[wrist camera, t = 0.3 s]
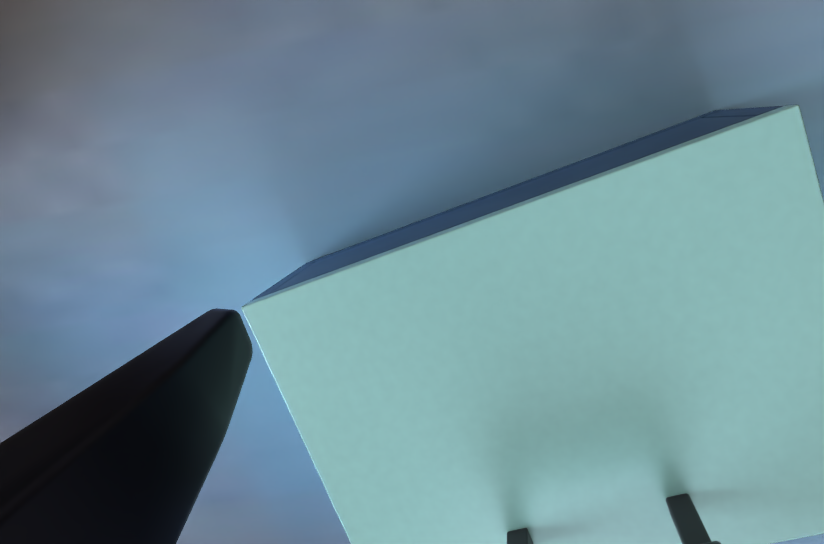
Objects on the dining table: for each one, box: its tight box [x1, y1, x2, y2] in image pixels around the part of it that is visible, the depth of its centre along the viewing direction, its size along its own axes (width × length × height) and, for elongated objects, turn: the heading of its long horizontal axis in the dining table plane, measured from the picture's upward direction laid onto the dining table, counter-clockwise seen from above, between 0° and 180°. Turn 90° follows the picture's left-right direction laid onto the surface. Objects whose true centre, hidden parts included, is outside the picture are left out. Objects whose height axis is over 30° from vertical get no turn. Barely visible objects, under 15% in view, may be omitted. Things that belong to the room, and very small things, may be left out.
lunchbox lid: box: [242, 105, 824, 544], centre depth 15 cm, size 12×16×5 cm
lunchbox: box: [253, 106, 783, 300], centre depth 20 cm, size 11×16×5 cm
